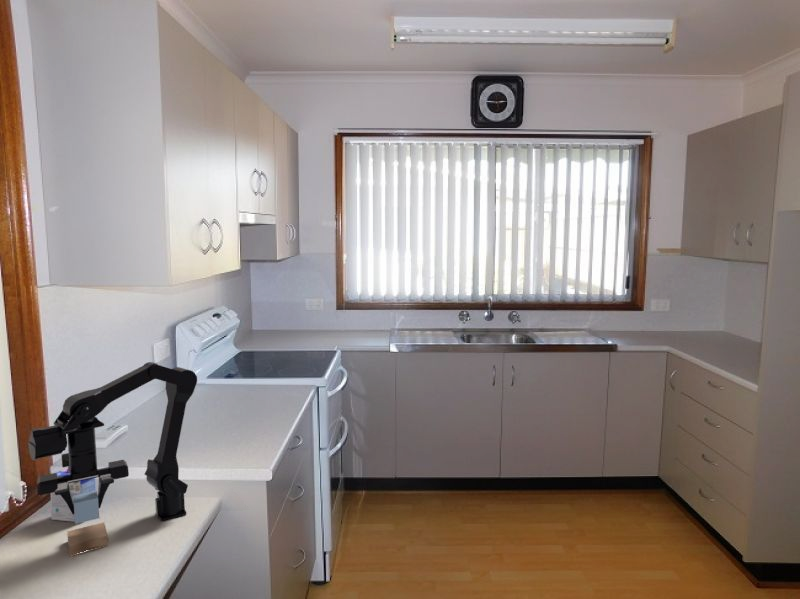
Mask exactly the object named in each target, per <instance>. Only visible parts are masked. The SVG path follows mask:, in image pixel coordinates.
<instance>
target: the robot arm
mask: <svg viewBox="0 0 800 599" xmlns="http://www.w3.org/2000/svg"><path fill="white" fill-rule="evenodd" d="M154 380H159V381H162V382H165V391H166V392H165V393H166V397H167V404H166V408H165V413H164V414H165V415H164V419H163V425H162V429H161V435H160V440H159V444H158V450H157V453H156V455H155V457H154V458H153V459H147V464H146V470H145V472H144V475H145V476H146V481H147V483H148V484H149V485H150V486H151V487H154V490H156V491H157V497H156V498H155V500H154V502H155V503H154V504H155V514H156V516H157V517H158V518H159V520H160V521H161V522H162V521H166V520H169V519H174V518H178V517H181V516H186V515H187V511H186V509H185V507H186V505H185V504H186V503H185V494H186V493H187V490H188V487H189V485H188V484H187V483H185V482H184V481H182V480H180V479H179V472H180V471H179V470H180V469H179V463H178V459H177V458H178V457H177V454H178V448H179V442H180V438H181V433H182V427H183V422H184V417H185V412H186V405H187V402H188V401H189V400H190V398H191V397H192V395H193V394H194V392H195V389H196V386H197V384H198V383H197V382H198V376H197V375H196V373H195V372H194V371H193V370H191V369H187V368H183V367H179V366H178V367H177V366H176V367H173V368H170V367H165V366H163V365H161V364H159V363H157V362H152V361H149V362H148V361H147V362H145V363H144V364H143V365H142V366H139V367H138V368H135V369H133V370H132V371H130V372H128V373H126V374H124V375H122V376H120V377H118V378H116V379H114V380H112V381H110V382H109V383H106V384H104V385H102V386H100V387H97V388H93V389H89V390H84V391H81V392H79V393H75V394H72V395H70V396H69V397H67V398H66V399H65V400H64V403H63V405H62V410H61V412H60V413H59V414H58V416H57V417H56V419H55V421H53V425H50V426H45V427H37V428H36V427H35V428H32V429H30V435H29V439H28V442H27V445H28V452H29V456H30V458H31V460H32V461H36V460H39V459H43V458H49V457H53V456H56V455H61V467H62V468H68V467H69V472H70V475H66V476H61V477H57V472H54V473H53V472H52V473H48V474H42V475H39V477H38V478H37V483H36V484H37V485H36V487H37V488H36V489H37V495H38V496H43V495H48V494H51V493H53V492H55V495H61V497H62V498H63V499H64V500H65V502H66V503H67V505H68V507H69V509H70V511H71V512H72V514H74V505H73V500H72V496H71V492H70V487H69V483H73V482H78V481H83V480H88V479H92V478H95V479H96V478H98V488H97V489H98V490H97V495H98V504H99V509H101V507H102V503H103V500H104V497H105V495H106V492H107V490H108V488H109V486H110V485H111V484H114V483H115V480H119V479H123V478H124V479H125V478H127V477H129V475H130V473H129V465H128V464H127V461H126V460H125V459H119V460H115V461H110V462H107V463H108V465H107V466H108V467H107V466H106V467H104V468H98V461H97V460H98V459H97V457H98V456H97V443H96V441H97V440H96V429H97V428H101V427H104V426H105V423H104V422H102V421H100V420H99V419H98V417H96V416H98V415H99V414H100V413H102V412H103V411H104V409H105V408H106V407H107V406H108V405H110V404H111V403H112V402H114V401H115V400H118V399H119V398H121V397H124V396H125V395H127V394H129V393H131V392H133V391H134V390H136V389H138V388H140V387H141V386H142V387H143V386H144V385H146V384H148V383H149V382H151V381H154ZM66 449H67V451H68V452H67V453H63V452H64V451H66ZM62 453H63V454H62Z"/></svg>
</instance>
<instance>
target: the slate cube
mask: <svg viewBox="0 0 800 599" xmlns="http://www.w3.org/2000/svg"><path fill="white" fill-rule="evenodd" d="M73 503H74V517H75V522H74V523H75V525H76V524H77V525H78V524H82V523H84V522H86V523H87V522H89V521H93V520H99V519H100V508H99V504H98V490H95V491H93V492H89V493H84V494H79V495H75V496H73Z"/></svg>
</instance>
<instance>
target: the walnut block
mask: <svg viewBox="0 0 800 599" xmlns="http://www.w3.org/2000/svg"><path fill="white" fill-rule="evenodd" d="M108 535H109V534H108V532H107V528H106V524H105V521H104V522H99V523H96V524H92V525H88V526H83V527H80V528H76V529H71V530H68V531H67V534H66V536H67V545H68V554H69V557H72V556H71V555H73V556H76V555H78V554H77V553H80V552H84V551H86V550H91V549H95V548H99V547H102V548H104V547H103V546H106V547H108V546H109V536H108ZM107 545H108V546H107ZM99 549H100V548H99ZM95 550H96V549H95ZM91 551H92V550H91ZM84 553H85V552H84ZM75 554H76V555H75ZM80 554H81V553H80Z"/></svg>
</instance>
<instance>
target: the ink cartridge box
mask: <svg viewBox="0 0 800 599" xmlns="http://www.w3.org/2000/svg"><path fill="white" fill-rule="evenodd" d="M56 473H57V477H61V476H66V475H70V472H69V466H68V467H67V468H64V469H61V470H59V471H57V472H56ZM69 487H70V492H71V496H72V500H73V496H75V495H79V494H84V493H89V492H93V491H96V478H92V479H88V480H83V481H78V482H73V483H69ZM73 505H74V503H73ZM50 510H51V511H50V512H51V514H50V515H51V517H50V518H51V520H52V521H64V522H73V523H75V517H74V514H72V512H71V511H70V509H69V507H68V505H67V503H66V502H65V500H64V499H63V498H62V497H61V495H55V492H53V493H50Z"/></svg>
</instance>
